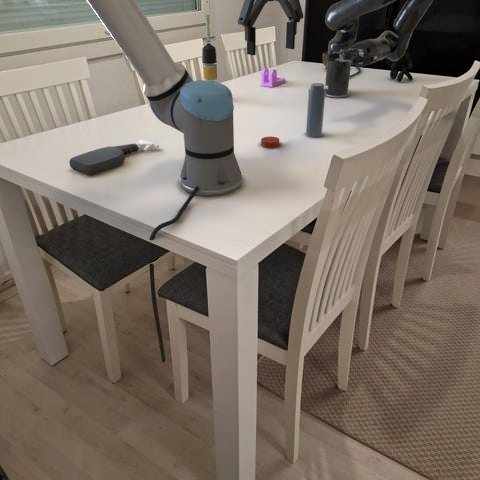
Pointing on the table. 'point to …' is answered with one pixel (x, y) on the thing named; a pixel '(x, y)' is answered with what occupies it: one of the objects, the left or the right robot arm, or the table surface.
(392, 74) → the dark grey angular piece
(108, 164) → the spray bottle
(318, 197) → the table surface
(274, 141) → the lid
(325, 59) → the cup
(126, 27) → the left robot arm
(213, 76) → the bottle with thin stem
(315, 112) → the jar
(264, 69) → the bracket
